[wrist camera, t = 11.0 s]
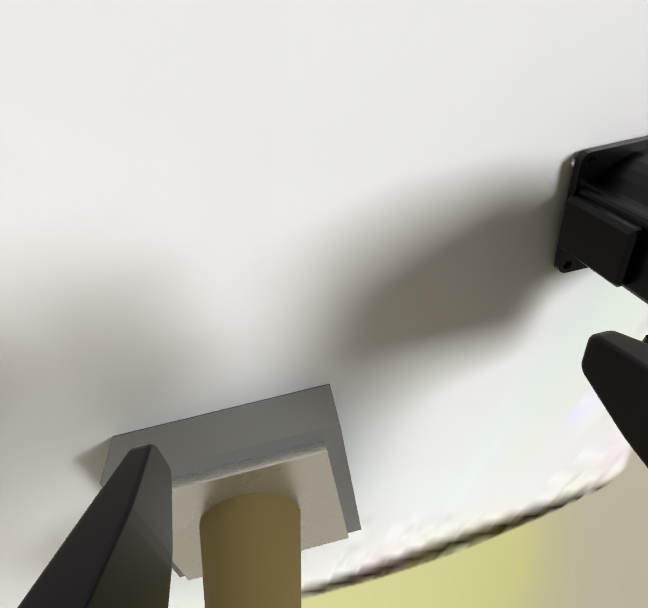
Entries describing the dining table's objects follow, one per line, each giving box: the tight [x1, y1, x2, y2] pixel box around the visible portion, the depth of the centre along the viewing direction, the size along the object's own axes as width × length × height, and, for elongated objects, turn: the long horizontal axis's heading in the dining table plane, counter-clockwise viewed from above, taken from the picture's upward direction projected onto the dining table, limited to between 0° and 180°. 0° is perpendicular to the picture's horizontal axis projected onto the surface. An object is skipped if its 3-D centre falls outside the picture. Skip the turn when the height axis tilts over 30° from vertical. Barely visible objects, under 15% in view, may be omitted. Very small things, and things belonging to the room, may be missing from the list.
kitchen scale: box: [100, 384, 361, 580], centre depth 27 cm, size 13×12×4 cm
